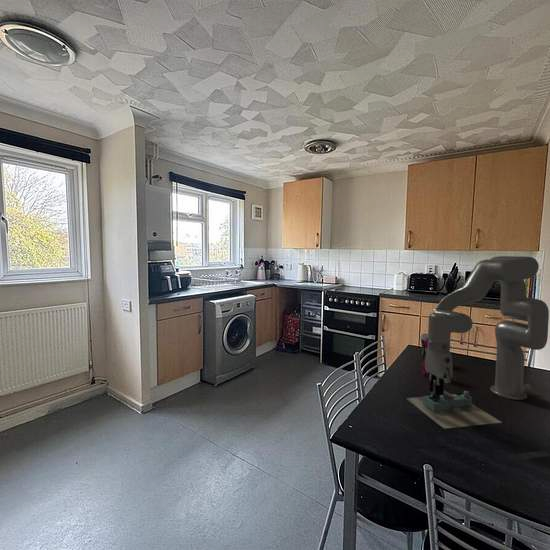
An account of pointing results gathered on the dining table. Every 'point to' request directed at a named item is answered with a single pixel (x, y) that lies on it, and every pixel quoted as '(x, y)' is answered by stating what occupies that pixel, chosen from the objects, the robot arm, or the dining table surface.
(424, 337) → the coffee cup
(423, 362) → the pepper mill
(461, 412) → the board
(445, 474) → the dining table surface
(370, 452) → the dining table surface
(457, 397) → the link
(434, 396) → the pin
